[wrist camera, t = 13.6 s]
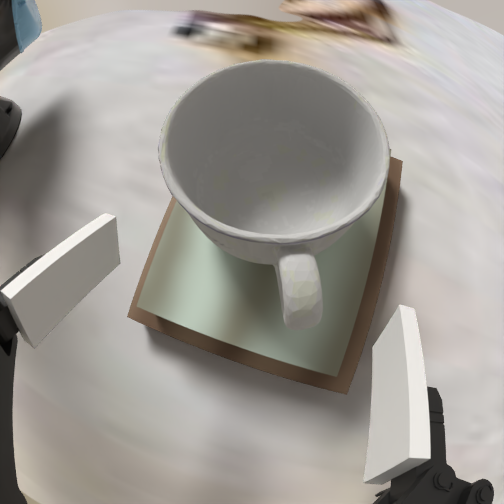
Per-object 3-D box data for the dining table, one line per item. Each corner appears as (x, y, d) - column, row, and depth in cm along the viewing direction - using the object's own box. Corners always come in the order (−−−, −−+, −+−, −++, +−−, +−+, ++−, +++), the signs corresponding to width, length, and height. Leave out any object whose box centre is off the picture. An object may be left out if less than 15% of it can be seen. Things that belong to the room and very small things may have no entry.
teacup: (209, 133, 22) (181, 58, 14) (349, 137, 21) (374, 62, 13) (186, 319, 19) (127, 315, 11) (355, 328, 18) (407, 332, 10)
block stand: (142, 317, 25) (108, 315, 19) (219, 128, 29) (207, 90, 23) (338, 386, 22) (356, 404, 16) (392, 176, 26) (414, 143, 20)
